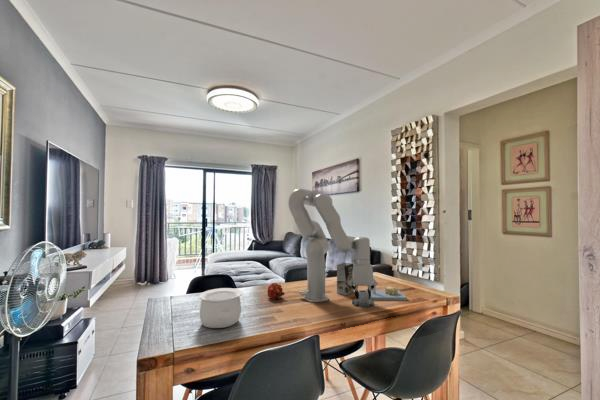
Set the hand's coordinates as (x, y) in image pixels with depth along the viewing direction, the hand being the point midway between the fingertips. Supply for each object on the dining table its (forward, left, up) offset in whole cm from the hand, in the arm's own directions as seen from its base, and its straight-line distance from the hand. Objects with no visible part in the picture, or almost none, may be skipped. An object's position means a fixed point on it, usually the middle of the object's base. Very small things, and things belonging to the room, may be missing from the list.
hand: (362, 298), depth 141 cm
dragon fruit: (-45, +9, -3) cm, 46 cm away
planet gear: (0, 0, -3) cm, 3 cm away
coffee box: (-6, +20, -3) cm, 21 cm away
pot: (-64, -25, -3) cm, 69 cm away
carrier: (+14, +13, -3) cm, 19 cm away
